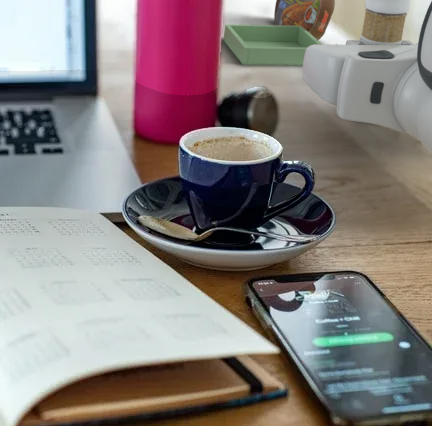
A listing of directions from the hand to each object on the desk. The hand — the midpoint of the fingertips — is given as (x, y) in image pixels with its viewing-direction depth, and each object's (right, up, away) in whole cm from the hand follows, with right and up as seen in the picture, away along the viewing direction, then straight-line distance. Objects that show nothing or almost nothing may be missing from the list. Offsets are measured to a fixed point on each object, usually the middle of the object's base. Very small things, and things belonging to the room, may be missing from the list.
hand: (375, 47), depth 98 cm
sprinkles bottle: (0, -7, +3) cm, 7 cm away
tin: (-2, +8, +33) cm, 34 cm away
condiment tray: (-7, +3, +24) cm, 25 cm away
